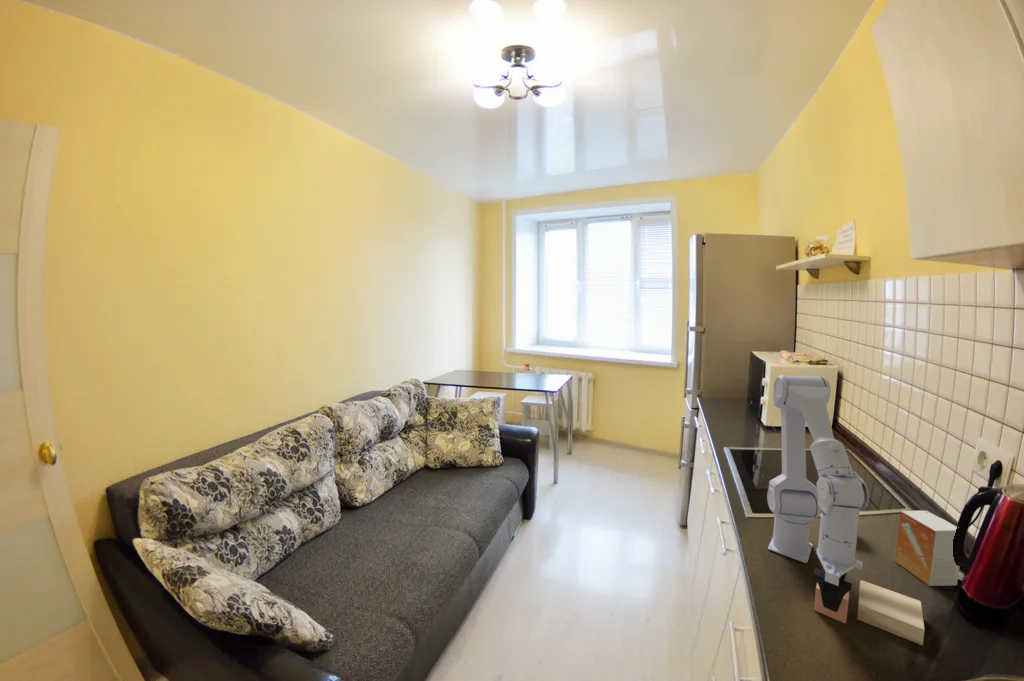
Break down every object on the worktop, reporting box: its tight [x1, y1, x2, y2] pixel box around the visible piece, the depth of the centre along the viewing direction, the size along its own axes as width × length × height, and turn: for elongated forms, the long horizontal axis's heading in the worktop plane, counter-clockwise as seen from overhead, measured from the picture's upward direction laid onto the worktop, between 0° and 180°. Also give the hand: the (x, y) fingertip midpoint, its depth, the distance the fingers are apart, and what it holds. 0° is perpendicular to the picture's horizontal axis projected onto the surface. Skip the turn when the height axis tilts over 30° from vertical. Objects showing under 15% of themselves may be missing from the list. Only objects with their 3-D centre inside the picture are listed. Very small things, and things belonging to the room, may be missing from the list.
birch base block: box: [857, 579, 925, 646], centre depth 79 cm, size 9×9×4 cm
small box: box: [894, 510, 960, 587], centre depth 90 cm, size 8×6×13 cm
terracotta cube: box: [813, 582, 851, 624], centre depth 81 cm, size 5×5×5 cm
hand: (832, 597), depth 81 cm, fingers open, 7 cm apart
